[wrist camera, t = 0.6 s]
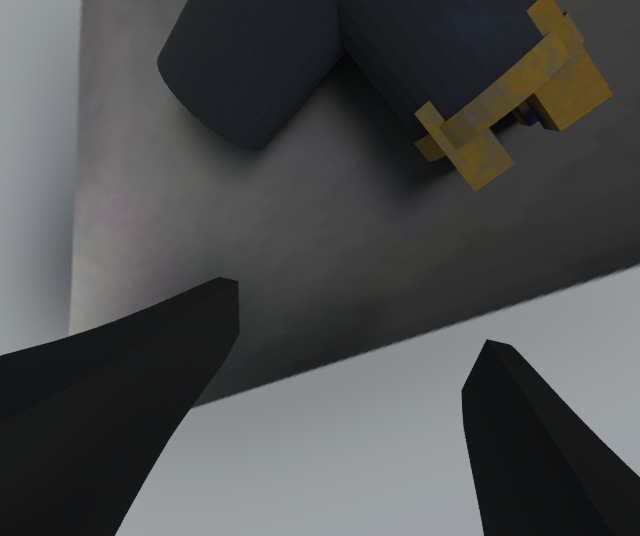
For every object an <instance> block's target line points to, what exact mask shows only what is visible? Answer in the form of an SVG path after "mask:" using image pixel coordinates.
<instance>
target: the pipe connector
mask: <svg viewBox="0 0 640 536" xmlns="http://www.w3.org/2000/svg"><path fill="white" fill-rule="evenodd" d="M583 42H584V38H583V37H582V35H581V33H580V32H579V30H578V29H577V27H576V25H575V24H574V22H573V21H572V19H571V17H570V16H569V14H568V13H567V12H564V13H561V11H560V9H559V8H558V6H557V5H556V3H555V1H554V0H188V1H187V3H186V5H185V7H184V9H183V10H182V12H181V14H180V16H179V18H178V20H177V22H176V24H175V26H174V28H173V30H172V31H171V33H170V35H169V37H168V39H167V41H166V43H165V45H164V47H163V49H162V51H161V52H160V54H159V56H158V60H157V65H158V69H159V72H160V74H161V76H162V78H163V80H164V82H165V83H166V84H167V86H168V87H169V89H170V90H171V92H172V93H173V94H174V95H175V96H176V97H177V99H178V100H179V101H180V102H181V103H182V104H183V105H184V106H185V107H186V108H187V109H188V110H189V111H190V112H191V113H192V114H193V115H194V116H195V117H196V118H198V119H199V120H200V121H201V122H202V123H203V124H205V125H206V126H207V127H209V128H210V129H211V130H213V131H214V132H215V133H217V134H218V135H220V136H222V137H223V138H225V139H226V140H228V141H230V142H232V143H234V144H236V145H238V146H241V147H243V148H246V149H250V150H261V149H263V148H265V147H266V145H267V144H268V143H269V142H270V141H271V139H272V138H273V137H274V136H275V135H276V134H277V132H278V131H279V130H280V129H281V128H282V126H283V125H284V124H285V123H286V122H287V121H288V119H289V118H290V117H291V116H292V115H293V113H294V112H295V111H296V110H297V109H298V108H299V106H300V105H301V104H302V103H303V102H304V101H305V99H306V98H307V97H308V96H309V95H310V93H311V92H312V91H313V90H314V89H315V88H316V86H317V85H318V84H319V83H320V82H321V80H322V79H323V78H324V77H325V76H326V75H327V73H328V72H329V71H330V70H331V69H332V67H333V66H334V65H335V64H336V63H337V62H338V60H339V59H340V58H341V57H342V56H343V55H344V53H345V52H346V51H347V52H348V53H349V55H350V56H351V57H352V58H353V60H354V61H355V62H356V64H357V65H358V66H359V67H360V69H361V70H362V71H363V72H364V74H365V75H366V76H367V77H368V79H369V80H370V81H371V83H372V84H373V85H374V86H375V88H376V89H377V90H378V91H379V93H380V94H381V95H382V96H383V98H384V99H385V100H386V102H387V103H388V104H389V105H390V107H391V108H392V109H393V110H394V112H395V113H396V114H397V115H398V117H399V118H400V119H401V121H402V122H403V123H404V124H405V126H406V127H407V128H408V129H409V131H410V132H411V133H412V134H413V136H414V137H415V138H416V139H415V140H414V142H413V143H414V144H415V145H416V147H417V148H418V149H419V150H420V152H421V153H422V154H423V156H424V157H425V158H426V159H427V161H429V162H432V161H436V160H438V159H440V158H442V157H444V156H446V155H447V156H448V158H449V159H450V160H451V162H452V163H453V164H454V165H455V167H456V168H457V169H458V171H459V172H460V173H461V174H462V176H463V177H464V178H465V180H466V181H467V182H468V183H469V185H470V186H471V187H472V189H473V190H474V191H475V192H476V191H477V190H478V189H480V188H481V187H483V186H484V185H485V184H487V183H488V182H490V181H491V180H493V179H494V178H495V177H497V176H498V175H500V174H501V173H503V172H504V171H505V170H507V169H508V168H510V167H511V166H513V165H514V164H515V163H514V161H513V160H512V159H511V157H510V156H509V155H508V153H507V152H506V151H505V149H504V148H503V146H502V145H501V144H500V142H499V141H498V140H497V138H496V137H495V136H494V134H493V133H492V131H491V130H490V129H489V127H490V126H492V125H493V124H494V123H496V122H497V121H498V120H500V119H501V118H502V117H504V116H505V115H506V114H508V113H509V112H510V111H511V112H512V114H513V115H514V116H515V118H516V119H517V121H518V122H519V123H520V124H522V125H527V126H532V125H533V124H534V123H536V122H537V121H538V120H539V122H540V123H541V125H542V126H543V128H544V129H549V130H555V131H560V132H561V131H562V130H564V129H565V128H567V127H568V126H569V125H571V124H572V123H574V122H575V121H577V120H578V119H579V118H581V117H582V116H584V115H585V114H587V113H588V112H589V111H591V110H592V109H594V108H595V107H596V106H598V105H599V104H601V103H602V102H604V101H605V100H606V99H608V98H609V97H611V96H612V95H613V93H612V92H611V90H610V88H609V87H608V85H607V84H606V82H605V81H604V79H603V77H602V76H601V74H600V73H599V71H598V69H597V68H596V66H595V65H594V63H593V62H592V60H591V58H590V57H589V55H588V54H587V52H586V51H585V49H584V47H583V46H582V45H583Z"/></svg>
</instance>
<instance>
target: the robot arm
mask: <svg viewBox="0 0 640 536" xmlns="http://www.w3.org/2000/svg"><path fill="white" fill-rule="evenodd" d="M238 335H239V295H238V281H235V280H230V279H226V278H222V277H219V278H216V279H213V280H211V281H208V282H206V283H203V284H201V285H199V286H197V287H194V288H192V289H190V290H188V291H185V292H183V293H181V294H179V295H176V296H174V297H172V298H170V299H167V300H165V301H163V302H160V303H158V304H156V305H153V306H151V307H149V308H146V309H144V310H141V311H139V312H136V313H134V314H131V315H128V316H126V317H123V318H121V319H118V320H116V321H113V322H111V323H108V324H105V325H102V326H100V327H97V328H94V329H91V330H88V331H85V332H82V333H79V334H75V335H72V336H69V337H66V338H63V339H60V340H57V341H53V342H50V343H46V344H42V345H38V346H34V347H31V348H27V349H23V350H19V351H16V352H12V353H8V354H4V355H1V356H0V536H115V534H116V532H117V530H118V529H119V527H120V525H121V523H122V521H123V519H124V517H125V515H126V513H127V512H128V510H129V508H130V507H131V505H132V503H133V501H134V499H135V498H136V496H137V494H138V492H139V490H140V489H141V487H142V485H143V483H144V481H145V480H146V478H147V476H148V474H149V473H150V471H151V469H152V467H153V466H154V464H155V463H156V461H157V459H158V457H159V456H160V454H161V452H162V451H163V449H164V447H165V446H166V444H167V442H168V440H169V439H170V437H171V436H172V434H173V433H174V431H175V430H176V428H177V427H178V425H179V424H180V422H181V421H182V420H183V418H184V417H185V415H186V414H187V413H188V411H189V410H190V409H191V407H192V406H193V404H194V403H195V402H196V400H197V399H198V397H199V396H200V395H201V393H202V392H203V391H204V389H205V388H206V386H207V385H208V384H209V382H210V381H211V379H212V378H213V377H214V375H215V374H216V372H217V371H218V369H219V368H220V367H221V365H222V364H223V362H224V361H225V359H226V357H227V355H228V354H229V352H230V350H231V348H232V346H233V344H234V342H235V340H236V338H237V337H238ZM461 392H462V413H463V425H464V432H465V438H466V443H467V448H468V453H469V459H470V464H471V469H472V474H473V479H474V484H475V489H476V494H477V499H478V504H479V509H480V515H481V520H482V526H483V532H484V536H640V477H639V476H638V475H637V474H636V473H635V472H633V471H632V470H631V469H630V468H629V467H628V466H627V465H626V464H625V463H624V462H623V461H622V460H621V459H620V458H619V457H618V456H617V455H616V454H615V453H614V452H613V451H612V450H611V449H610V448H609V447H608V446H607V445H606V444H605V443H604V442H603V441H602V440H601V439H600V438H599V437H598V436H597V435H596V434H595V433H594V432H593V431H592V430H591V429H590V428H589V427H588V426H587V425H586V424H585V423H584V422H583V421H582V420H581V419H580V418H579V417H578V416H577V415H576V414H575V413H574V412H573V411H572V409H571V408H570V407H569V406H568V405H567V404H566V403H565V402H564V401H563V400H562V399H561V398H560V397H559V395H558V394H557V393H556V392H555V391H554V390H553V389H552V388H551V387H550V386H549V385H548V384H547V382H546V381H545V380H544V379H543V378H542V377H541V376H540V375H539V374H538V373H537V372H536V371H535V369H534V368H532V366H531V365H530V364H529V363H528V362H527V361H526V360H525V359H524V358H523V357H522V356H521V354H520V353H519V352H518V351H517V350H516V349H515V348H514V347H512V346H511V345H509V344H505V343H501V342H496V341H492V340H488V339H487V340H486V342H485V344H484V346H483V348H482V350H481V352H480V354H479V356H478V358H477V360H476V362H475V364H474V366H473V368H472V370H471V372H470V374H469V376H468V378H467V380H466V382H465V384H464V387H463V389H462V391H461Z"/></svg>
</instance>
